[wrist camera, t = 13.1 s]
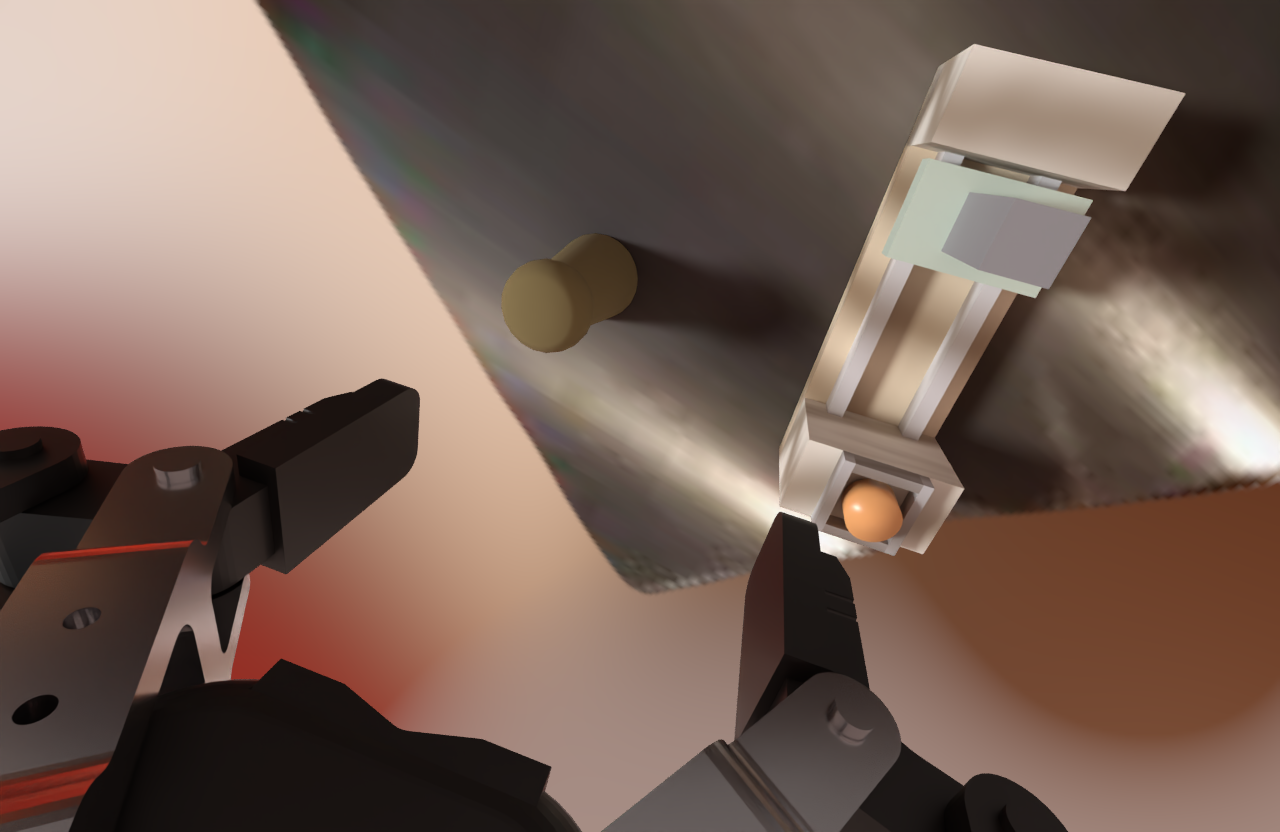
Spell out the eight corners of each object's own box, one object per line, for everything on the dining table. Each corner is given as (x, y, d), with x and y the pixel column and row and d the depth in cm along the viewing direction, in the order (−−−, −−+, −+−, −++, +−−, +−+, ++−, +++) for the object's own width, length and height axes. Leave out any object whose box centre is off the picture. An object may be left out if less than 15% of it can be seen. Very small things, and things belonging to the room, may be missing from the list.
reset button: (853, 472, 31) (858, 490, 29) (904, 488, 31) (912, 507, 29) (833, 512, 33) (836, 531, 31) (882, 528, 32) (888, 548, 30)
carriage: (922, 158, 28) (966, 155, 22) (1078, 198, 28) (1173, 208, 21) (881, 253, 31) (910, 276, 24) (1023, 292, 30) (1094, 327, 23)
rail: (938, 66, 29) (1000, 27, 21) (1119, 109, 28) (1258, 86, 20) (779, 447, 41) (779, 517, 32) (904, 487, 40) (937, 570, 32)
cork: (654, 269, 37) (611, 305, 28) (607, 335, 40) (553, 388, 30) (585, 214, 37) (516, 231, 27) (542, 284, 40) (466, 322, 30)
